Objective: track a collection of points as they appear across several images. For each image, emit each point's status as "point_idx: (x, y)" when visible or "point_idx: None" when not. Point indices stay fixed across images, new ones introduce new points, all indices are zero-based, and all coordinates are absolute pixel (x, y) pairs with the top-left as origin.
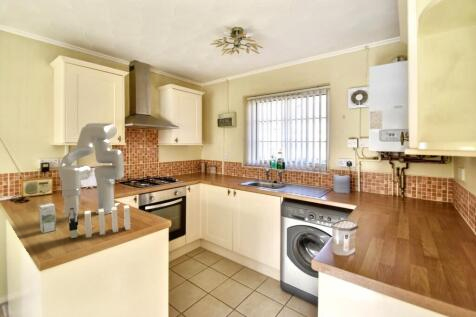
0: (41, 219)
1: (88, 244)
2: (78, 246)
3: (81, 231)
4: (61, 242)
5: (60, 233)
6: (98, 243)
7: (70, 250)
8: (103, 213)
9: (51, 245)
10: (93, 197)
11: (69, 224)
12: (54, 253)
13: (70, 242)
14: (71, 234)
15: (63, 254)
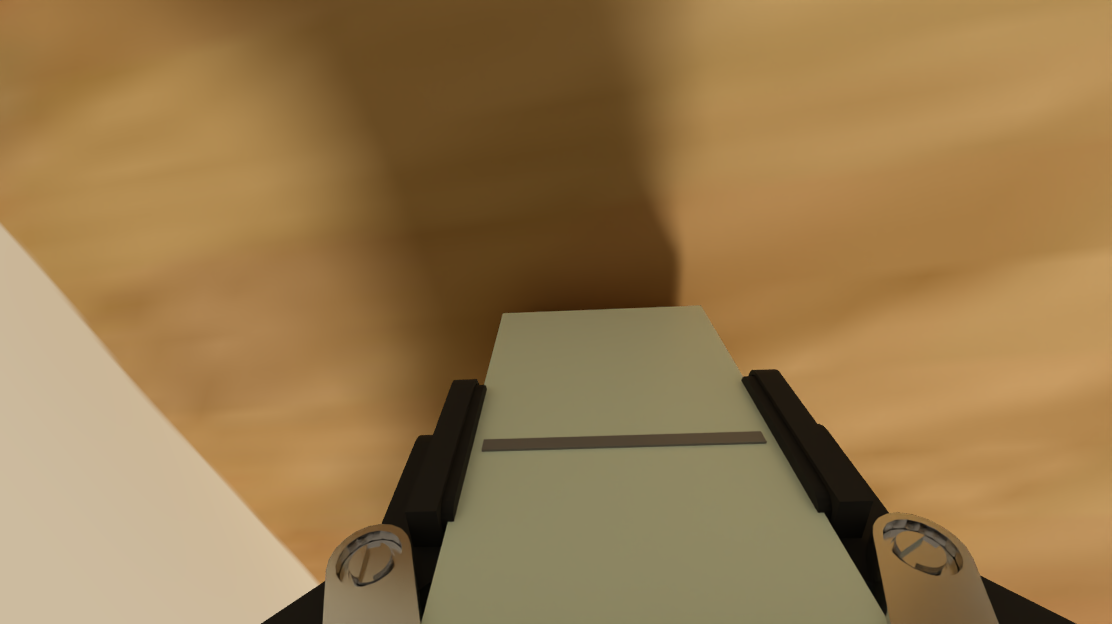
0: None
1: (287, 473)
2: (258, 393)
3: (813, 383)
4: (488, 182)
5: (975, 93)
6: (285, 544)
7: (155, 328)
8: None
9: (421, 48)
10: None
11: (423, 482)
12: (89, 157)
13: (432, 298)
14: (497, 351)
15: (45, 270)
